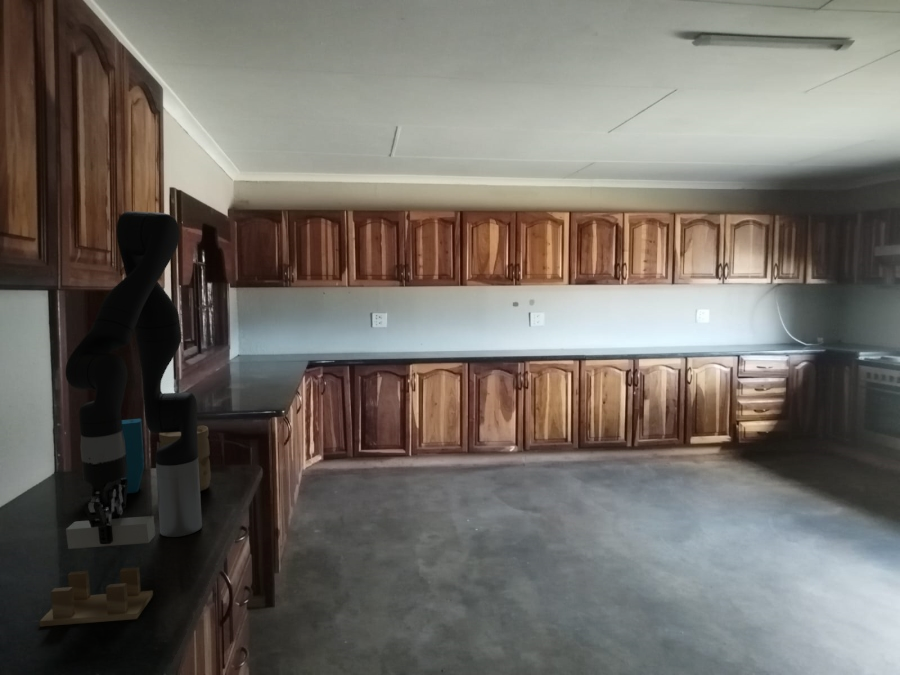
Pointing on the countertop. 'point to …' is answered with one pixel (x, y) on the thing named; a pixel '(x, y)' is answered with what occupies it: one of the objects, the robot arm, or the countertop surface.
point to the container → (202, 452)
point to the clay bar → (122, 532)
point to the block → (133, 453)
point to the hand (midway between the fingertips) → (111, 538)
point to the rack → (97, 600)
